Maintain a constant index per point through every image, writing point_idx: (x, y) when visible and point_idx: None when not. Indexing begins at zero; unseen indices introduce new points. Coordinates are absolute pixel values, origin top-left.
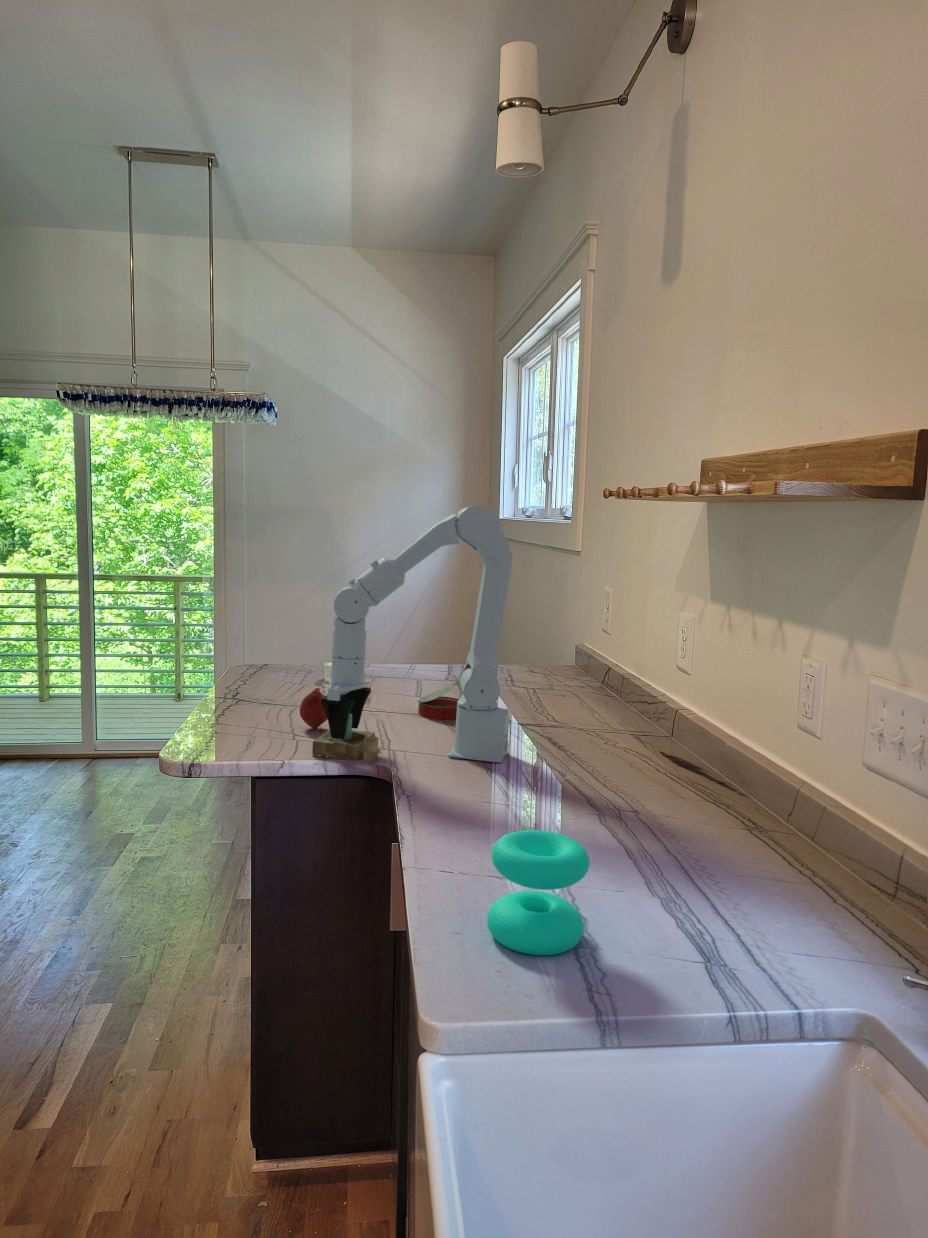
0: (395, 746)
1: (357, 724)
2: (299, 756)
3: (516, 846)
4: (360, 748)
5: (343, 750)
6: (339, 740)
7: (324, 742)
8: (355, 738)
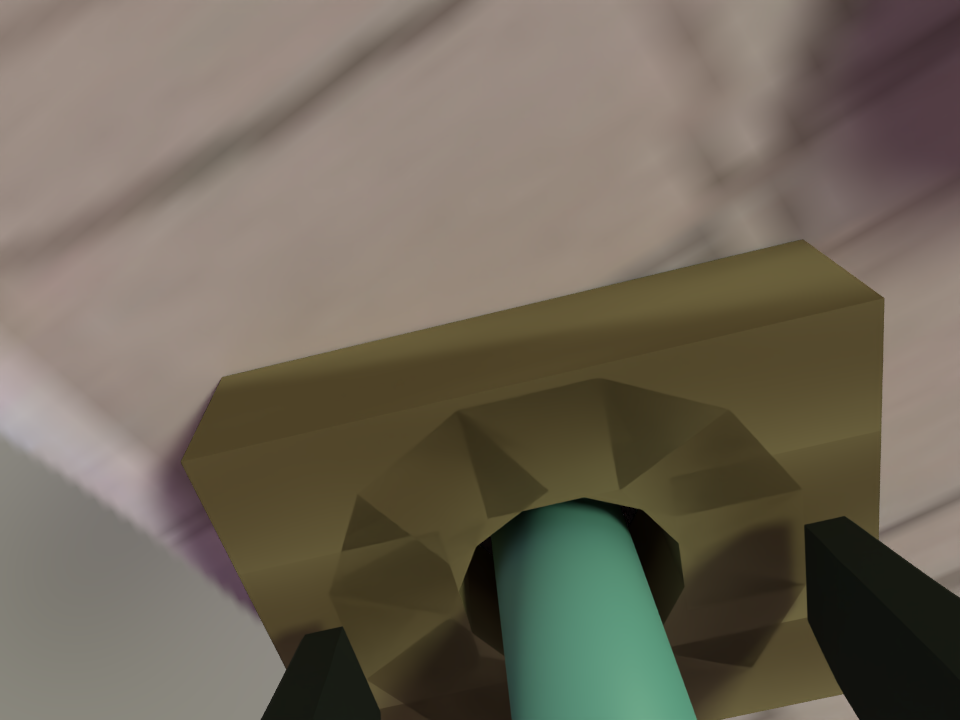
0: None
1: (832, 667)
2: (110, 295)
3: None
4: None
5: None
6: (415, 622)
7: (244, 565)
8: None
